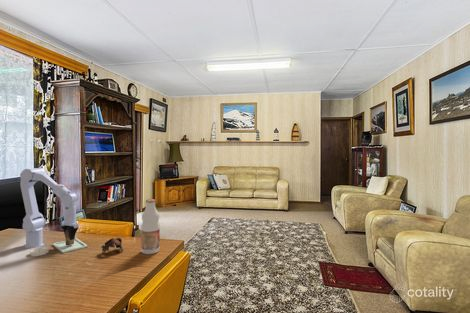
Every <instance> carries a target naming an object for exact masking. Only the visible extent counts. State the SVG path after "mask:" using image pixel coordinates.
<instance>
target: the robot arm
mask: <svg viewBox="0 0 470 313" xmlns="http://www.w3.org/2000/svg"><path fill="white" fill-rule="evenodd" d="M19 177H20V183H19V184H20V190H21V195H22V200H23V204H24V209H25V215H24V217H23V219H22V221H23V222H22V230H23V231H24V233H25V243H24V244H23V246H24V247H25V248H26V249H27V250H30V249H34V248H39V247H45V243H43V229H44V227H45V226H46V224H47V222H46V219H45V218H44V215H43V214H42V213H41V212H40V211H39V207H38V203H37V198H36V193H35V188H34V185H35V184H36V183H37V182H39V181H40V182H42V183H43V184H45V185H46V186H48V187H49V188H50V189H52V193H53V194H54V195H56V196H57V197H58V198H60V199H61V203H62V206H63V220H61V226H60V227H61V229H62V231H63V233H64V237H65V238H66V230H68V233H69V239H70V240H73V239H75V237H76V234H77V231H78V230H79V228H80V227H79V226H80V224H79V223H78V222H77V202H78V200H79V195H78V194H77V193H76V192H74V191H73V192H72V190H69V189H68V188H67V187H66V185H64V184H61V183H60V184H58V182H56V181H55V180H54V179H53V178H52V177H51V176H50V175H48V173H47V171H46V170H44V169H43V168H42V167H37V168H24V169H23V170H22V171H21V172H20V174H19Z"/></svg>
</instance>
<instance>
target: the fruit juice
mask: <svg viewBox="0 0 470 313" xmlns="http://www.w3.org/2000/svg"><path fill="white" fill-rule="evenodd" d="M145 203H146V206H145V209H144V211H143V212H142V214H141V221H142V223H141V228H140V229H141V235H140V236H141V237H140V238H141V240H140V242H141V243H140V244H141V245H140V246H141V247H140V249H141V250H140V251H141V253H142V254H144V255H152V254H156V253H158V252H159V251H160V244H161V243H160V240H161V238H160V237H161V236H160V235H161V233H160V230H161V228H160V227H161V226H160V221H159V220H160V212H159V211H158V210H157V207H156V199H154V198H153V199H152V198H150V199H146V200H145Z"/></svg>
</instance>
